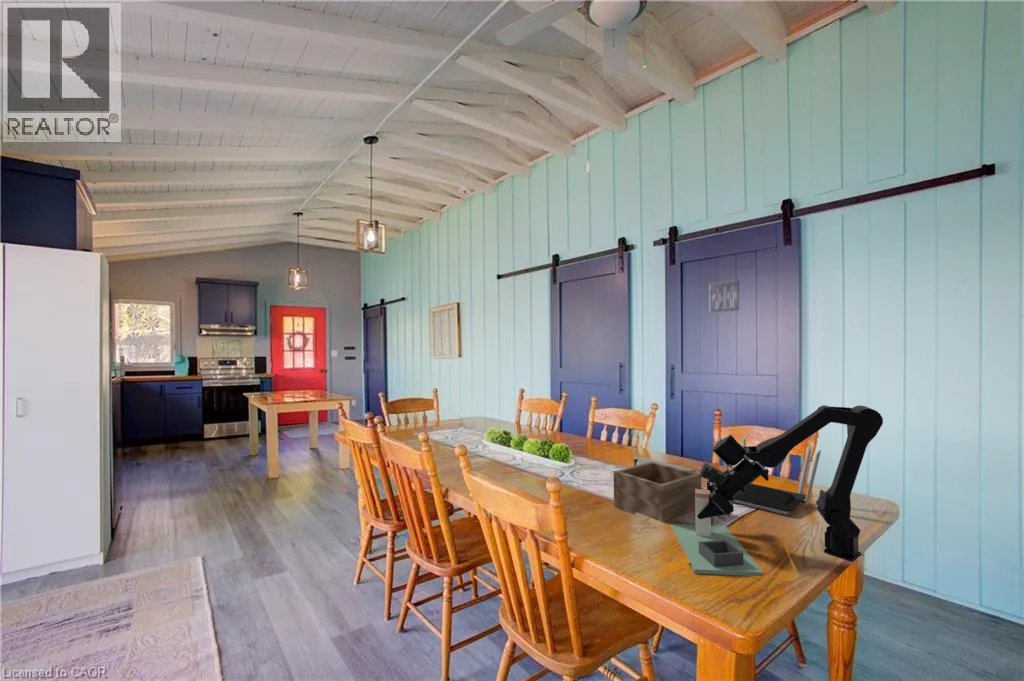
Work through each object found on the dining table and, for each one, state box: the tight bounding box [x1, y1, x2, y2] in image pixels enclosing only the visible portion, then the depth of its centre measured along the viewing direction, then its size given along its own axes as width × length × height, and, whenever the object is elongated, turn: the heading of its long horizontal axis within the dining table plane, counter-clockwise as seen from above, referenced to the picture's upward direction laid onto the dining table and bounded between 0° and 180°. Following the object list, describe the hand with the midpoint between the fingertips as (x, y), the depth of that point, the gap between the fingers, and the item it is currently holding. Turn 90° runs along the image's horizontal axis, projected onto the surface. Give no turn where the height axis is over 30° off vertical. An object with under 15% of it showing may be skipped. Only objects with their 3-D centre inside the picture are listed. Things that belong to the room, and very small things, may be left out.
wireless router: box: [717, 434, 822, 515], centre depth 166 cm, size 34×23×20 cm
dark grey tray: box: [699, 540, 743, 567], centre depth 122 cm, size 8×8×3 cm
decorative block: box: [633, 455, 696, 473], centre depth 189 cm, size 8×30×8 cm, turn 36°
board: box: [669, 523, 764, 577], centre depth 129 cm, size 28×16×1 cm, turn 173°
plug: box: [694, 488, 712, 537], centre depth 137 cm, size 4×4×12 cm
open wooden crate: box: [612, 462, 702, 523], centre depth 160 cm, size 20×20×12 cm
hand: (698, 512), depth 138 cm, fingers open, 9 cm apart
